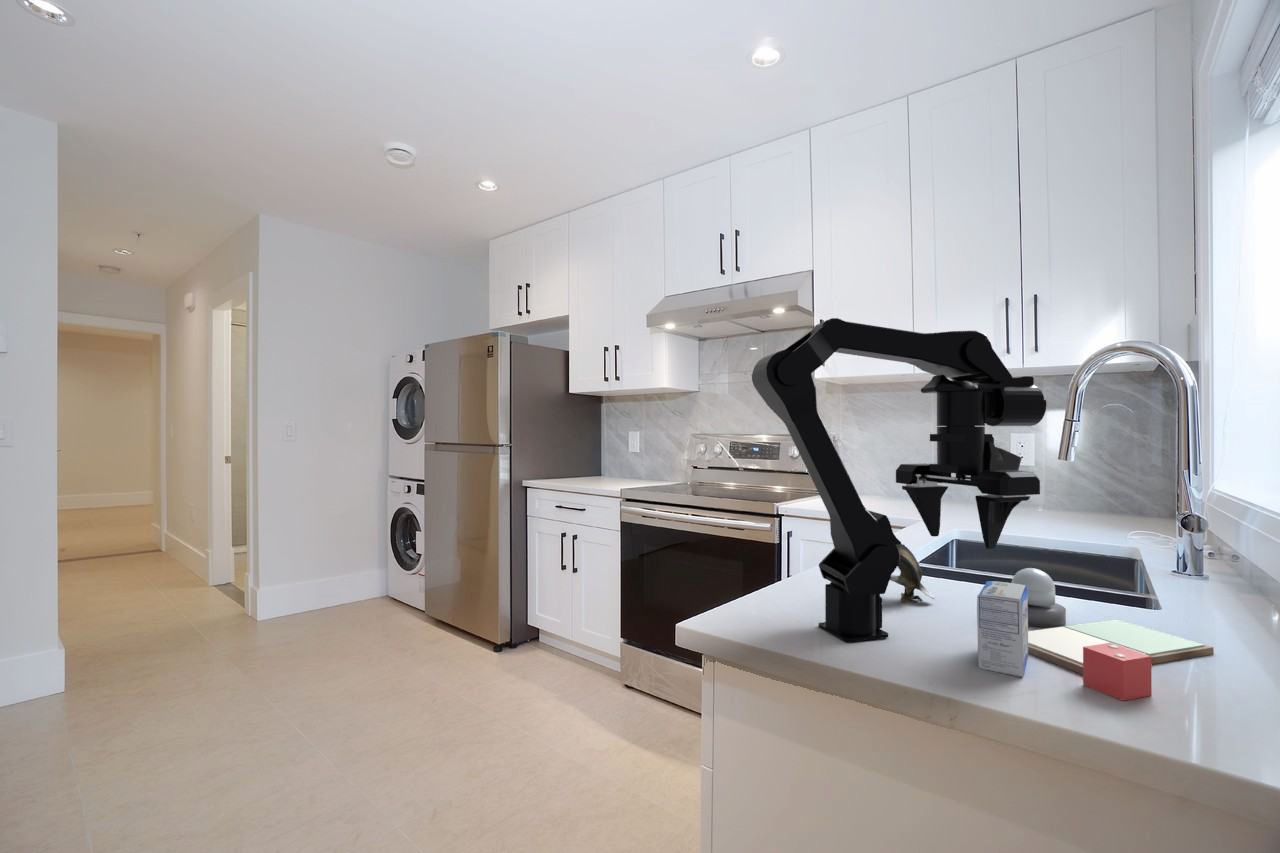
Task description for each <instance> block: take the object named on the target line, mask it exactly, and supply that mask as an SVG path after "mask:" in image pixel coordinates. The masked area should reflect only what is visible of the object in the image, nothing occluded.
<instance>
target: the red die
mask: <svg viewBox="0 0 1280 853" xmlns="http://www.w3.org/2000/svg"><path fill="white" fill-rule="evenodd" d="M1082 678H1083V679H1082V685H1084V686H1087V687H1089V688H1091V689H1094V690H1097V691H1099V692H1101V693H1103V694H1106V695H1108V696H1111V697H1114V698H1116V699H1118V700H1120V701H1129V700H1134V699H1139V698H1145V697H1150V696H1151V697H1152V687H1153V686H1152V664H1151V656H1149V655H1146V654H1143V653H1140V652H1137V651H1134V650H1131V649H1128V648H1125V647H1122V646H1119V645H1116V644H1112V643H1105V644H1098V645H1092V646H1085V647H1083V674H1082Z"/></svg>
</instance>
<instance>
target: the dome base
mask: <svg viewBox="0 0 1280 853" xmlns="http://www.w3.org/2000/svg"><path fill="white" fill-rule="evenodd" d="M1066 610H1067V609H1066V607H1065V606H1063V605H1061V604H1060V603H1057V602H1055V605H1052V606H1035V605H1029V604H1028V626H1030V627H1037V628H1046V629H1048V628H1055V627H1062V626H1067V611H1066Z"/></svg>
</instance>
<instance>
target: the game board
mask: <svg viewBox="0 0 1280 853" xmlns="http://www.w3.org/2000/svg"><path fill="white" fill-rule="evenodd" d="M1105 643H1112V644H1116V645H1119V646H1122V647H1125V648H1128V649H1131V650H1134V651H1137V652H1140V653H1143V654H1146V655H1149V656H1151V665H1157V664H1161V663H1168V662H1175V661H1179V660H1180V661H1181V660H1184V659H1185V660H1186V659H1192V658H1197V657H1203V656H1209V655H1214V651H1215V650H1214V646H1211V645H1207V644H1205V643H1201V642H1197V641H1194V640H1190V639H1187V638H1183V637H1180V636H1175V635H1172V634H1169V633H1166V632H1162V631H1160V630H1155V629H1152V628H1148V627H1146V626H1141V625H1138V624H1135V623H1131V622H1128V621H1124V620H1122V619H1118V618H1116V619H1115V618H1114V619H1108V620H1107V619H1106V620H1102V621H1101V620H1100V621H1093V622H1087V623H1079V624H1070V625H1065V626H1062V627H1055V628H1041V629H1034V630H1028V654H1030V655H1032V656H1035V657H1038V658H1040V659H1043V660H1046V661H1048V662H1050V663H1053V664H1056V665H1058V666H1060V667H1063V668H1066V669H1069V670H1071V671H1074V672H1076V673H1078V674H1080V675H1083V647H1085V646H1092V645H1098V644H1105Z"/></svg>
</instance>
